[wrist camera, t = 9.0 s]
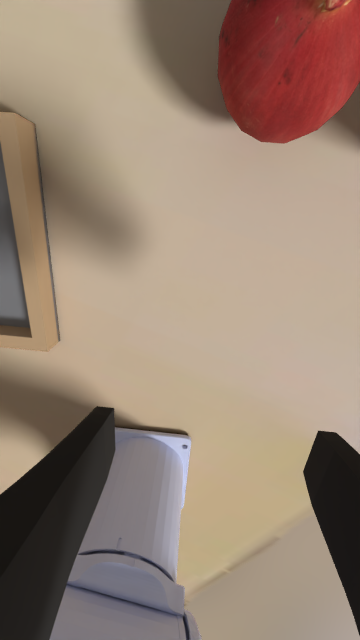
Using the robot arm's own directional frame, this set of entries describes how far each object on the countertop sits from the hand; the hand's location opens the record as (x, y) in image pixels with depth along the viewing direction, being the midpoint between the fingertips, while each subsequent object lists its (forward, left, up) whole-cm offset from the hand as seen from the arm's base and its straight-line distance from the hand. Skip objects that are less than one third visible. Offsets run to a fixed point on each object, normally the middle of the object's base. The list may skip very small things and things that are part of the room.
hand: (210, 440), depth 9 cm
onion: (+14, -2, -11) cm, 17 cm away
